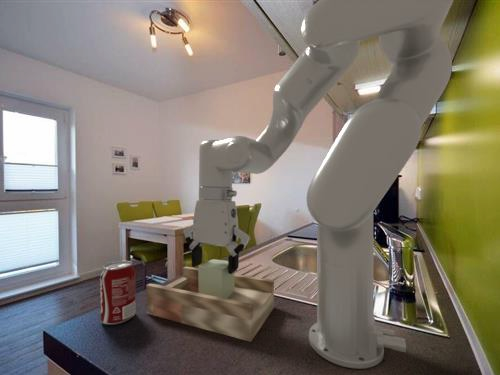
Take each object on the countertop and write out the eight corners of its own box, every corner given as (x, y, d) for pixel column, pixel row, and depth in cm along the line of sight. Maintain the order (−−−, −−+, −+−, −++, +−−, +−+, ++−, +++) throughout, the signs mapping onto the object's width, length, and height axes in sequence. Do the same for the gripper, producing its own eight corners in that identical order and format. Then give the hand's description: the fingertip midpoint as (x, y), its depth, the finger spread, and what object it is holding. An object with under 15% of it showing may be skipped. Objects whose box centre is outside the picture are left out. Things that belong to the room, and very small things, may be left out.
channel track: (274, 307, 58) (274, 280, 58) (250, 341, 45) (250, 307, 45) (185, 289, 69) (185, 266, 69) (146, 313, 56) (146, 285, 56)
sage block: (234, 291, 58) (234, 261, 58) (221, 302, 53) (221, 270, 52) (213, 287, 60) (212, 259, 60) (198, 297, 55) (198, 266, 55)
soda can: (142, 315, 55) (141, 262, 55) (112, 331, 49) (111, 271, 49) (124, 308, 58) (123, 258, 58) (94, 321, 53) (93, 266, 53)
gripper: (256, 195, 56) (254, 269, 57) (194, 193, 63) (193, 258, 64) (242, 197, 49) (240, 281, 50) (174, 194, 56) (173, 267, 57)
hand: (214, 268), depth 57 cm, fingers open, 9 cm apart
